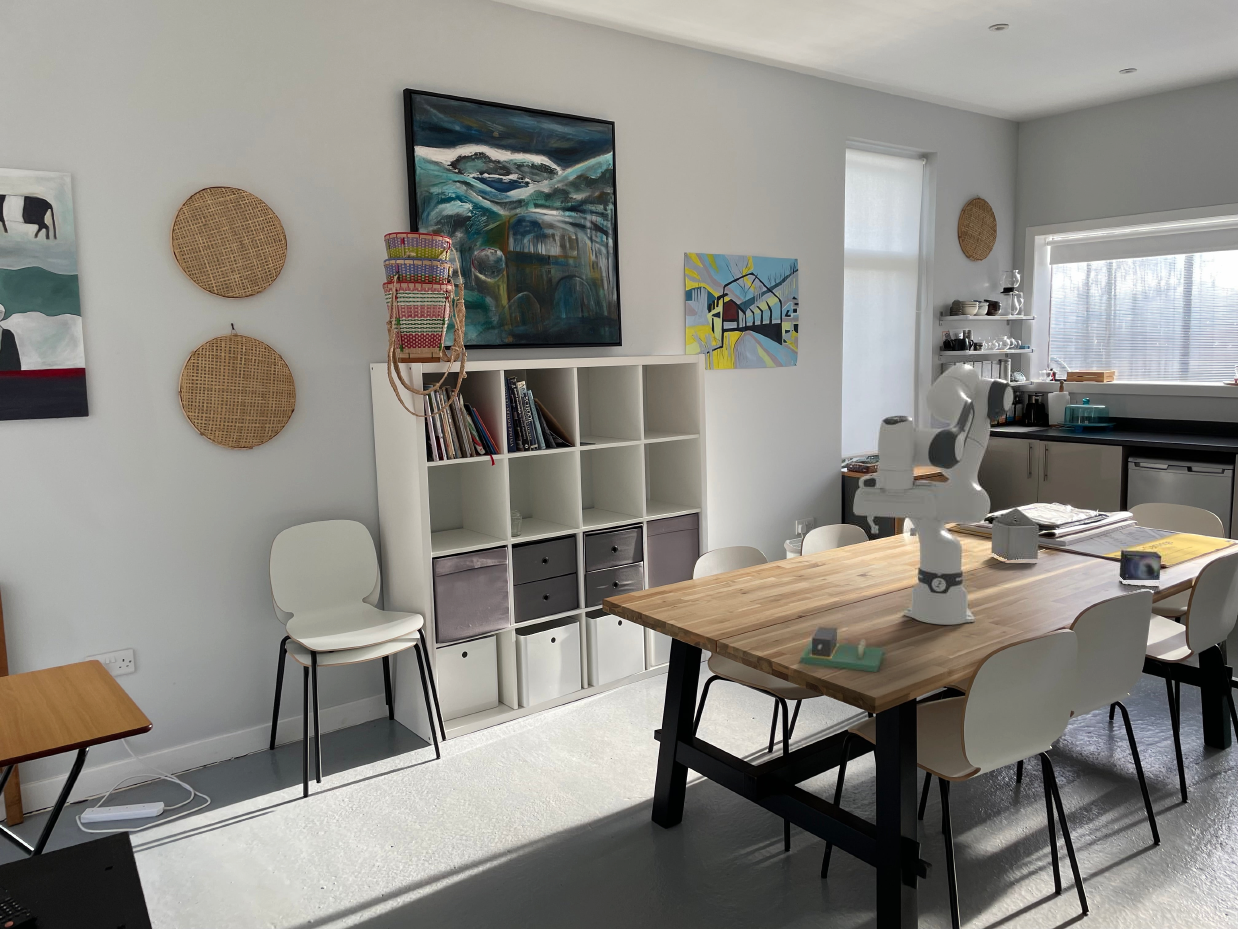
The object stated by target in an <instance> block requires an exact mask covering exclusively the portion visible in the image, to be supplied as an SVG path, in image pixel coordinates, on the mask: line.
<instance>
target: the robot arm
mask: <svg viewBox="0 0 1238 929" xmlns="http://www.w3.org/2000/svg"><path fill="white" fill-rule="evenodd" d="M1013 401H1014V390H1013V387H1012V385H1011V383H1010V382H1009V381H1006V380H1004V379H1000V378H995V379H993V378H989V377H983V376H982V377H981V376H980V375H979V373H978V372H977V370H976V369H975V368H974V367H973V366H971V365H968V364H964V363H958V364H955V365H953V366H951V367H949V368H948V369H947V370H945V371H944V372H943V373H942V374H941V375H939V377H938V378H937V379H936V381H934V383H933V384H932V385H931V387H929V389H928V391H927V394H926V397H925V402H926V406H927V410H928V411H929V413H930V414H931V415H932V416H933V417H934V418H935V419H937V420H939V421H940V422H943V423H948V424H949V427H945V428H926V427H925V428H923V427H916V426H914V421H913V418H912V417H910V416H907V415H894V416H893V415H892V416H891V415H890V416H888V417H885V418H884V419H882V421H881V423H880V427H879V432H878V438H877V439H878V442H877V443H878V444H877V454H878V458H879V459H878V460H879V461H878V464H877V472H876V473H871V474H868V475H865V476H862V477H860V479H859V481H858V486H859V488H858V489H857V490H856V492H855V495H854V499H853V508H852V509H853V510H852V512H853V513H854V515H855V516H864V517H865V516H867V519H866V520H867V522H868V524H869V525H870V528H871V534H875V535H876V534H879V525H875V522H874V518H875V517H882V518H883V517H884V518H902V519H908V521H910V522H911V525H913V527H911V528H909V532H910V533H909V534H910V536H911V537H914V536H915V537H917V538H918V543H919V567H918V571H917V581H918V582H917V583H916V584H915V585H914V586H913V587H912V588H911V604H910V606H909V607H908V608H907V609H906V610H904V613H903V614H904V616H905V617H910V618H913V619H914V620H917V621H920V622H924V623H928V624H934V625H948V626H949V625H960V624H964V623H972V622H973V623H974V622H975V621H976V620H975V616H974V615H973V614H972V612H971V611H970V609H969V608H968V607H969V603H968V594H969V593H968V591H967V590H966V589H965V587H964V586H963V579H964V573H963V570H962V561H963V560H962V559H963V558H962V554H963V546H962V544H961V541H960V540H959V539H958V538H957V536H954V535H953V533H951V532H950V531H949V530H948V529H947V527H946V525H945V523H952V524H961V525H967V524H968V525H969V524H979V523H982V522H983V521H984V520H985V519H986V518H987V516H988V515H989V512H990V510H991V500H990V497H989V494H988V492H987V491H986V490H985V489H984V488H982V486H981V485H980V483H979V480H978V474H979V473H978V472H979V470H980V466H981V463H982V460H983V457H984V455H985V452H986V450H987V447H988V443H989V440H990V434H991V424H994V423H997V422H998V421H999V420H1000V419H1001V418H1003V417H1004V416H1005V415H1007V413H1009V411H1010V409H1011V407H1012V404H1013ZM990 423H991V424H990ZM914 466H921V467H934V468H938V469H939V471H940V472H941V473H942V474H943V475H944V477H946V478H948V480H947V481H945V482H943V481H942V482H940V481H934V480H933V481H932V480H931V481H930V480H914V478H915V477H914V476H915V474H914V472H915V467H914Z"/></svg>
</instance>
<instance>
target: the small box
mask: <svg viewBox="0 0 1238 929" xmlns="http://www.w3.org/2000/svg"><path fill="white" fill-rule="evenodd" d="M1161 564H1162V555H1161V554H1159V553H1158V552H1157V551H1147V550H1129V549H1128V550H1127V549H1126V550H1125V549H1121V551H1120V564H1119V576H1120V577H1121V578H1122V579H1123V580H1160V577H1161V567H1162V566H1161Z"/></svg>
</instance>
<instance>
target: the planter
mask: <svg viewBox="0 0 1238 929" xmlns="http://www.w3.org/2000/svg"><path fill="white" fill-rule="evenodd" d="M1015 519H1016V521H1015ZM1039 531H1040V526H1039V525H1038V523H1036V522H1035V521H1034V520H1033V519H1032V518H1030V517H1029V516H1028V515H1026V514H1025V513H1024V512H1023V511H1021V510H1020V509H1019V508H1017V507H1015V508H1012V509H1011V510H1009V511H1008V512H1005V513H1004V514H1001V515H1000V516H999V517H997V518H996V519H994V520H993V521H992V526H991V553H994V554H996V555H997V556H999V557H1002V558H1004V559H1007V560H1013V559H1014V560H1016V559H1017V560H1018V559H1038V558H1039V556H1038V554H1039V533H1040V532H1039ZM1038 560H1039V559H1038Z"/></svg>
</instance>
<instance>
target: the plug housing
mask: <svg viewBox="0 0 1238 929" xmlns="http://www.w3.org/2000/svg"><path fill="white" fill-rule="evenodd" d="M811 641H812V655H816V656H825V657H830V656H831V655H832V653H833V651H834V649H835V647H836V646H837V643H838V628H837V627H826V626H819V627H818V628H817V630H816V631H815V633H814V634H813V636H812V637H811Z"/></svg>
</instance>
